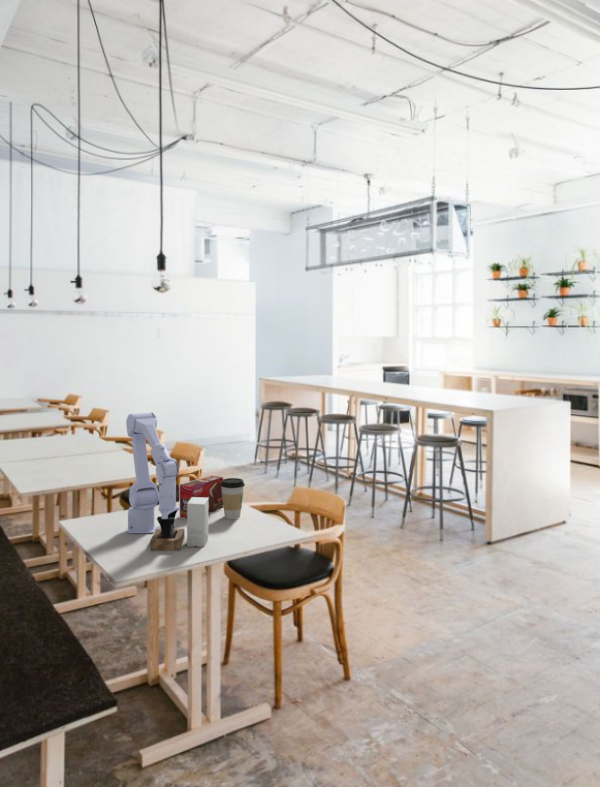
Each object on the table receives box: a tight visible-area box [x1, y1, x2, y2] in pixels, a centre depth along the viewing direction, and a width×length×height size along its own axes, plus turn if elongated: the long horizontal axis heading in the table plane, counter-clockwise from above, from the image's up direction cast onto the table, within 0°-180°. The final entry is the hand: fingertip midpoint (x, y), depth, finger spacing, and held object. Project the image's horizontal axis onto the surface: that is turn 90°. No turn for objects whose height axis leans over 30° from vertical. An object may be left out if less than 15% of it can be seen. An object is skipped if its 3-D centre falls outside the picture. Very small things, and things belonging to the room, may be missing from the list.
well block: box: [149, 528, 186, 551], centre depth 223 cm, size 10×13×4 cm
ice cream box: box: [178, 474, 224, 519], centre depth 263 cm, size 20×6×13 cm, turn 148°
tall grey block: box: [162, 524, 176, 539], centre depth 223 cm, size 4×4×6 cm
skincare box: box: [186, 497, 209, 548], centre depth 224 cm, size 8×7×16 cm
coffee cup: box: [220, 477, 246, 520], centre depth 256 cm, size 10×10×15 cm
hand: (167, 533), depth 223 cm, fingers open, 7 cm apart
